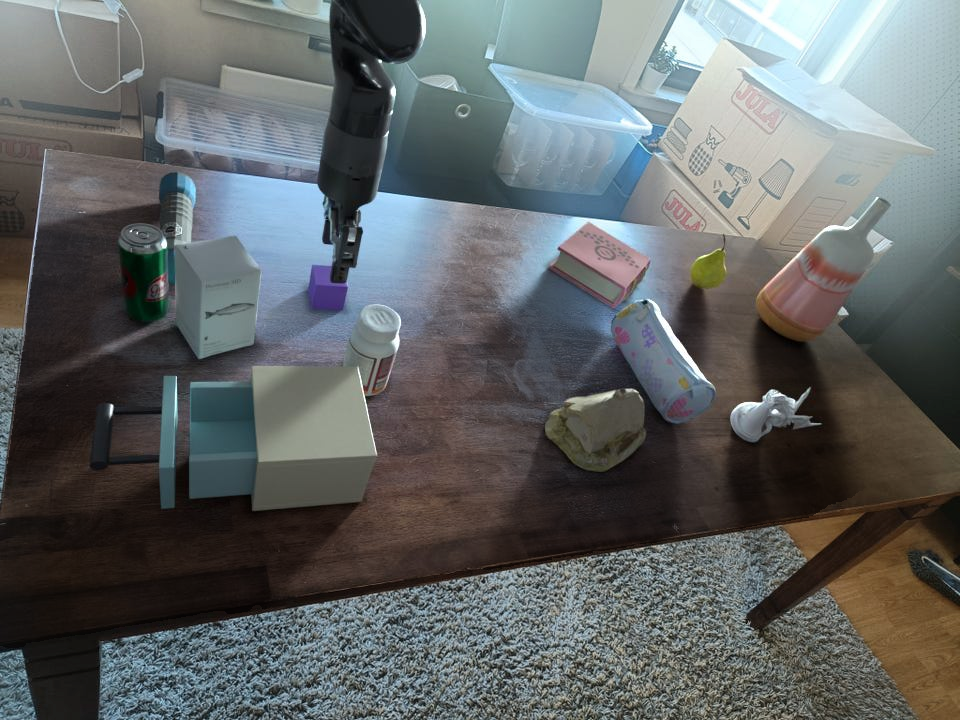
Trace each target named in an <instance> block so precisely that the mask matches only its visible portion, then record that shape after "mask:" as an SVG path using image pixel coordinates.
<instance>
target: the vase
mask: <svg viewBox="0 0 960 720" xmlns="http://www.w3.org/2000/svg"><path fill="white" fill-rule="evenodd" d="M891 206H892V204H891V203H890V201H888V200H887V199H885V198H883V197H881V196H878V197H876V198H875V200H873V202H872V203H871V204H870V205H869V206H868V208H866V210H865V211H864V212H863V214H862V215H861V216H860V217H859V218H858V220H856V222H855V223H854V224H853V225H852V226H849V227H847V226H841V225H830V226H828V227H826V228H824V229H822V230H821V231H820V232H819V233H818V234H817V235H816V236H815V237H814V238H813V239H812V240H810V242H809V243H807V244H806V245H805V246H804V247H803V249H801V251H799V252H798V254H796V256H794V257H793V258H792V259H791V260H790V261H789V262H788V263H787V264H786V265H785V266H784V267H783V268H782V269H781V270H780V271H779V272H777V274H776V275H775V276H774V277H773V278H772V279H771V280H769V282H768V283H767V284H765V286H764V287H763V288H762V289H761V290H760V291H759V293H758V295H757V297H756V299H755V309H756V311H757V314H758V316H759V318H760V319H761V320H762V322H764V323H765V324H766V326H768V327H769V328H770V329H771V330H772V331H774V332H775V333H776V334H778V335H780V336H781V337H784V338H786V339H788V340H791V341H795V342H802V343H806V342H807V343H808V342H813V341H815V340H817V339H819V338H820V337H822V335H823V334H824V333H825V332H826V331H827V330H828V328H829V327H830V326H831V324H832V323H833V321H834V320H835V318H836V317H837V315H838V314H839V312H840V311H841V309H842V308H843V306H844V305H845V303H846V301H847V300H848V298H849V297H850V295H851V294H852V293H853V291H854V289H855V288H856V287H857V285H858V284H859V281H860V280H861V279H862V278H863V276H864V275H865V272H866V271H867V270H868V268H869V266H870V265H871V264H872V262H873V259H874V256H875V251H874V248H873V246H872V244H871V243H870V241H869V240H868V239H867V237H868V235H869V233H870V232H871V231H872V230H873V228H875V226H876V225H877V223H878V222H879V221H880V220H881V218H882V217H883V216H884V215H885V214H886V212H887V211H888V210H889V209H890V207H891Z"/></svg>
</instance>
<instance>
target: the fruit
mask: <svg viewBox="0 0 960 720" xmlns="http://www.w3.org/2000/svg"><path fill="white" fill-rule="evenodd" d="M722 236H723V247H722V248H717V249H715V250H714V251H712V252H711V253H709V254H704V255H701V256H699V257H698V258H696V259H695V261H694V262H693V263H692V266H691V268H690V271H689V277H690V281H691V282H692V284H693V285H694V286H695V287H697V288H698V289H702V290H708V289H713V288H718V287H720V286H721V285H722V283H723V282H724V281H725V278H726V276H727V268H726V266H725V260H726V251H725V248H726V247H725V246H726V235H725V233H722Z"/></svg>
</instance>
